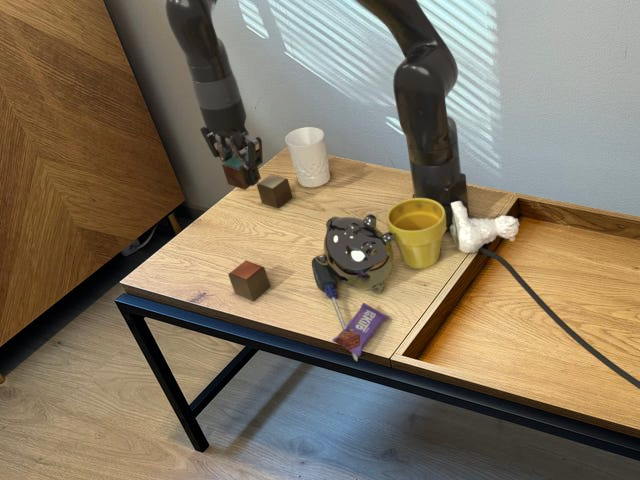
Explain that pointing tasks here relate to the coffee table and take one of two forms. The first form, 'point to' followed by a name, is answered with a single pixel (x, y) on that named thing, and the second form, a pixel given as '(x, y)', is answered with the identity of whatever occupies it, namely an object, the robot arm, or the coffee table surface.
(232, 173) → the teal topped brown block
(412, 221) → the flower pot
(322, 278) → the screwdriver
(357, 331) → the snack package
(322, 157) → the white cup
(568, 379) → the coffee table surface
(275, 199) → the brown block
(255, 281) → the red-topped brown block
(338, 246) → the piggy bank
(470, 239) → the sitting furry creature
